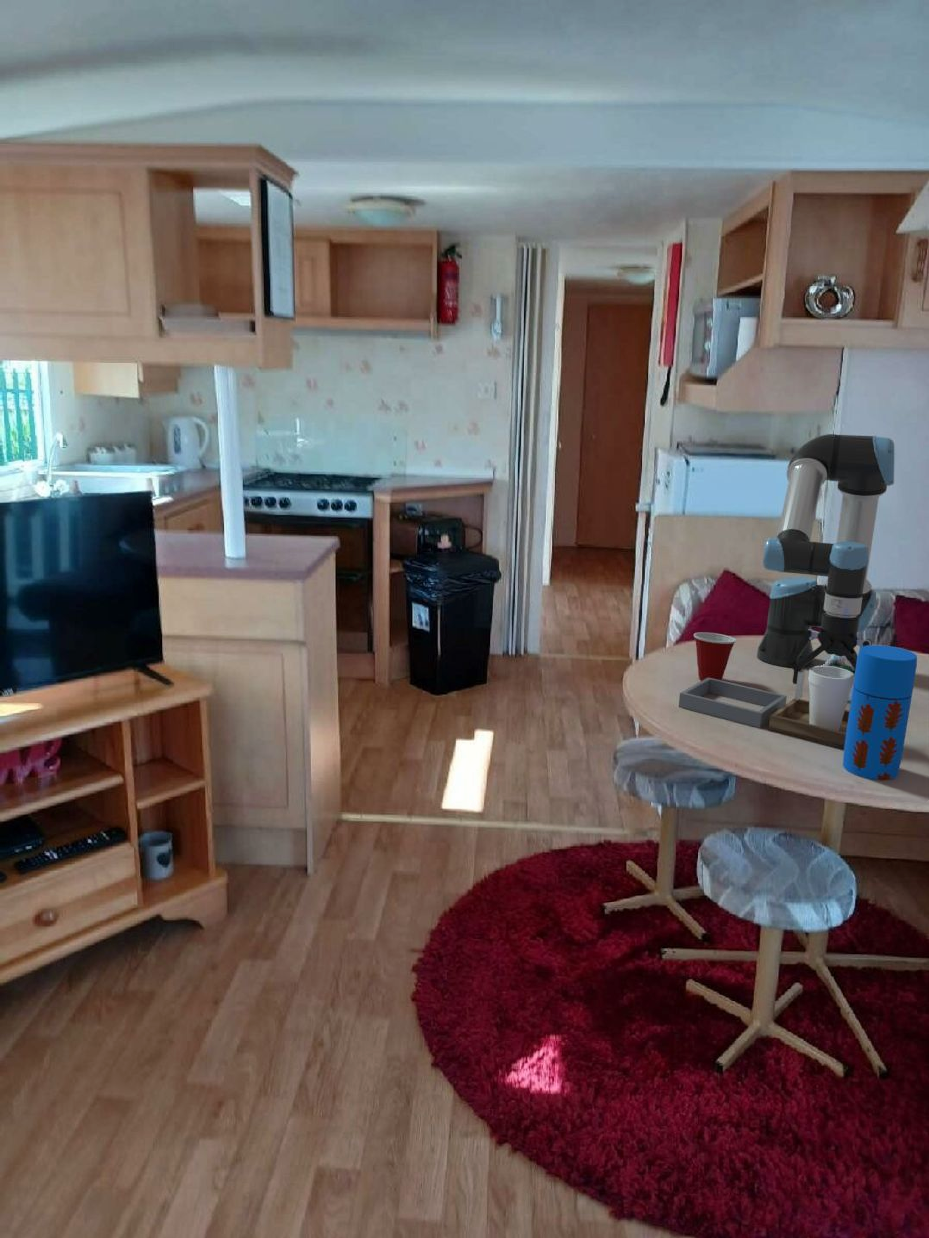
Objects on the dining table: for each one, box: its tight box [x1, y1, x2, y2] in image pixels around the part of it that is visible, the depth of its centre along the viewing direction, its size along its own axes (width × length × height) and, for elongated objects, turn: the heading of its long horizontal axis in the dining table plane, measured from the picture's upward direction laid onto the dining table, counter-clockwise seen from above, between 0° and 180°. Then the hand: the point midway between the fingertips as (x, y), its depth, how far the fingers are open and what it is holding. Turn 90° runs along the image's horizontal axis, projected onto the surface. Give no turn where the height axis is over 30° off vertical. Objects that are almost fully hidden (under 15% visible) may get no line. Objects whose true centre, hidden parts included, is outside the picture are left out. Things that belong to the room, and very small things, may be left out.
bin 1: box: [678, 678, 788, 729], centre depth 226 cm, size 16×20×4 cm
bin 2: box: [768, 697, 850, 751], centre depth 213 cm, size 16×20×4 cm
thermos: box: [842, 644, 918, 781], centre depth 191 cm, size 11×11×25 cm
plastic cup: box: [693, 631, 737, 682], centre depth 246 cm, size 11×11×12 cm
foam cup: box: [807, 665, 855, 731], centre depth 212 cm, size 10×9×13 cm
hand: (828, 705), depth 212 cm, fingers open, 13 cm apart
